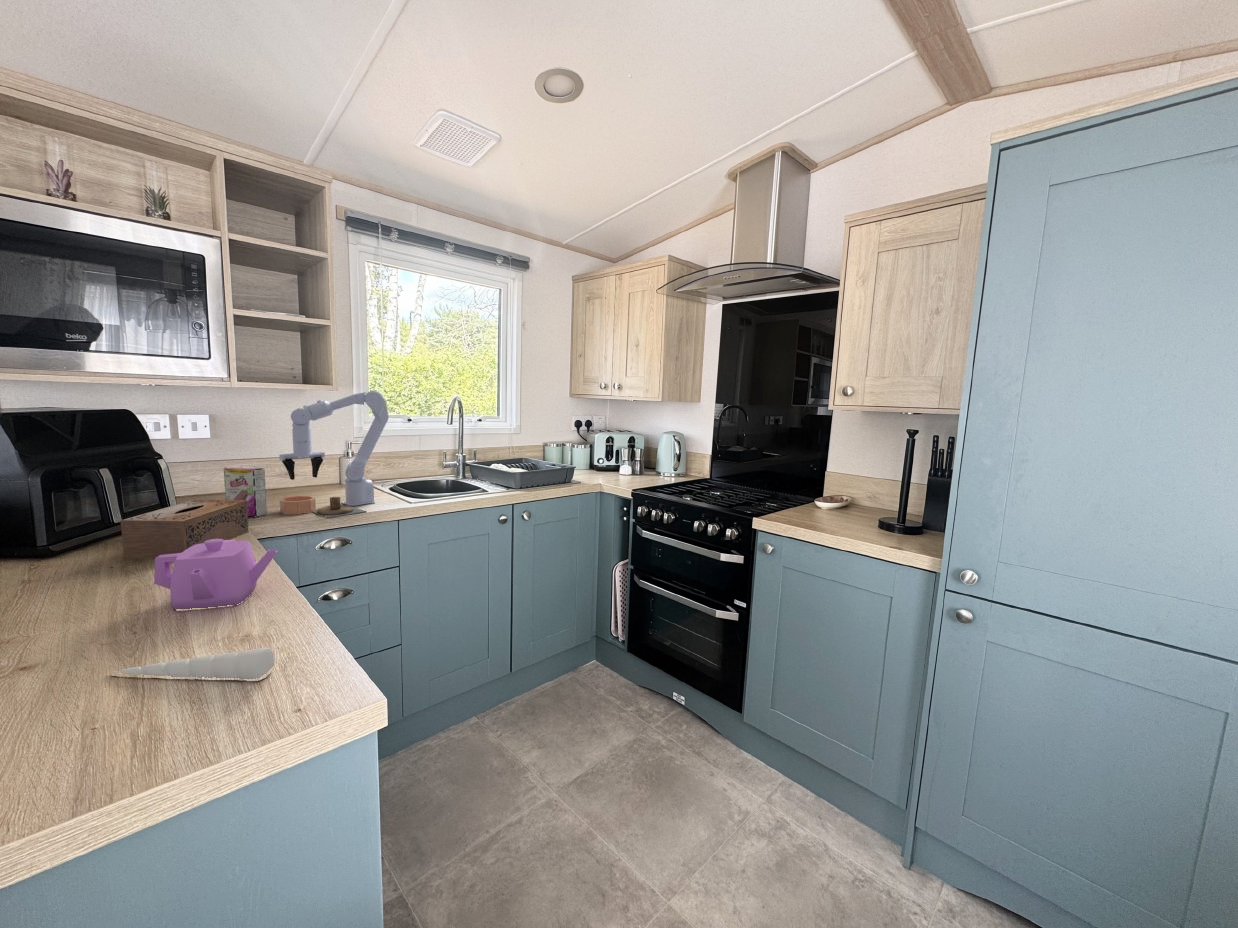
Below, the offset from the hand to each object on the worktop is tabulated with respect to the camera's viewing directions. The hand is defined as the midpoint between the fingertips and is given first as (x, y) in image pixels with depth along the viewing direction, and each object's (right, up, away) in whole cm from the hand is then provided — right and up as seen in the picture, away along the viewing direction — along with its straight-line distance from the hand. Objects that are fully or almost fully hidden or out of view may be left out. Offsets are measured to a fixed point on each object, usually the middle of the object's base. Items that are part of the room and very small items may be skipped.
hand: (303, 478), depth 191 cm
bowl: (+2, -12, -7) cm, 13 cm away
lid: (+15, -12, -7) cm, 21 cm away
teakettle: (+33, -23, -83) cm, 92 cm away
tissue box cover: (-2, -17, -48) cm, 51 cm away
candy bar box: (-10, -12, -15) cm, 22 cm away
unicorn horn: (+51, -28, -112) cm, 127 cm away
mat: (+16, -12, -6) cm, 21 cm away
